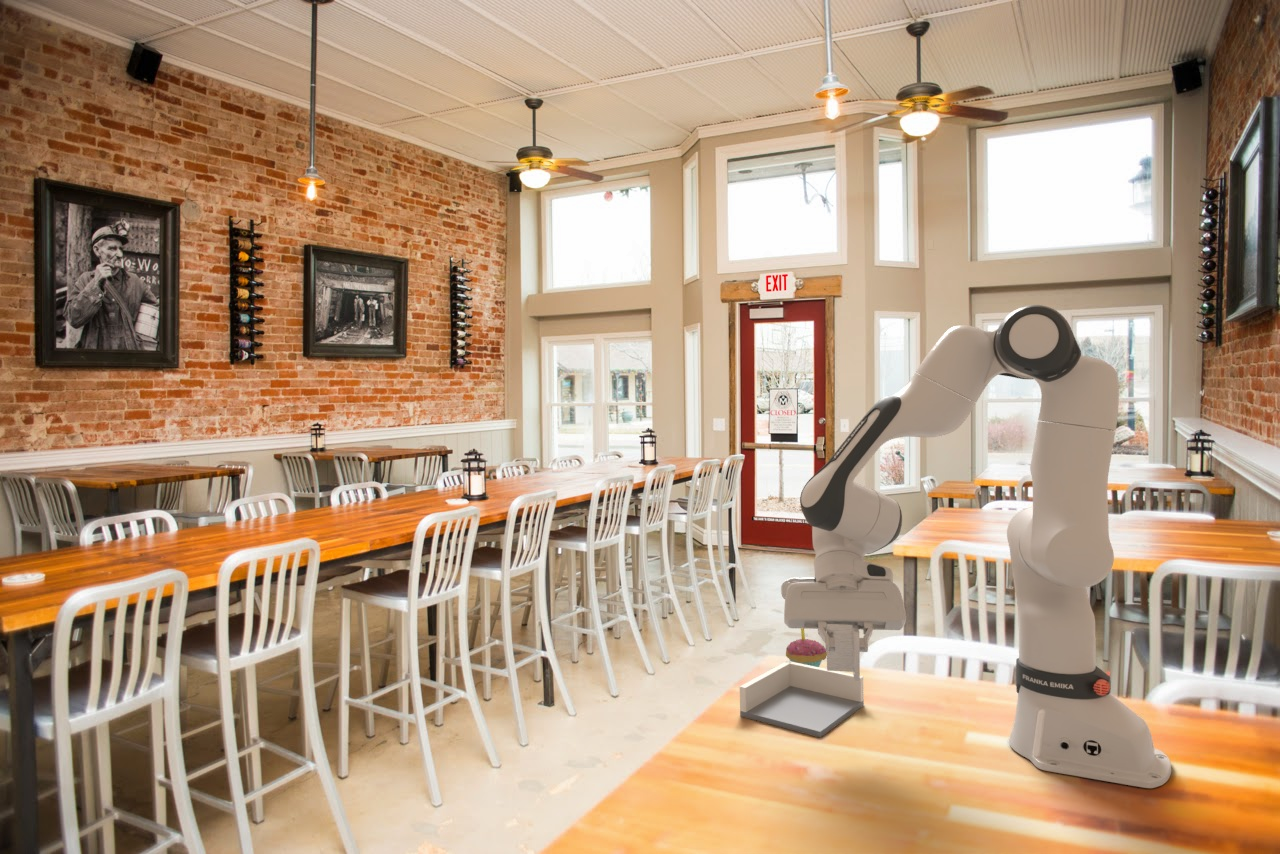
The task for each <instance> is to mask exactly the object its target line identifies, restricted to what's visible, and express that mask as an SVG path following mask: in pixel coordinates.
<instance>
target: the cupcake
mask: <svg viewBox="0 0 1280 854" xmlns="http://www.w3.org/2000/svg"><path fill="white" fill-rule="evenodd" d="M800 633H801V638H800V639H796V640H794V641H791V642H790V643H789V644H788V645H787V646H786V650H785V656H786V658H787V659H788V661H791V662H796V663H800V664H805V665H810V666H815V667H821V664H822V661H825V660H827V651H826V647H825V646H824V645H823V644H821V643H820V642H819V641H816V640H813V639H808V638H807V639H806V637H805V629H804V628H800Z"/></svg>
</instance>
